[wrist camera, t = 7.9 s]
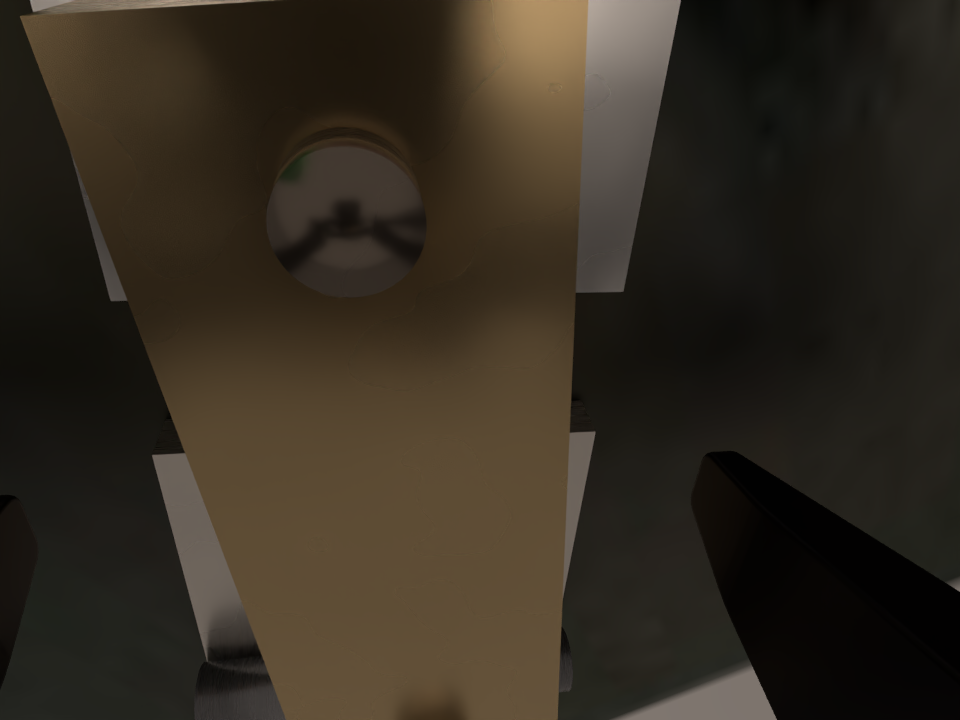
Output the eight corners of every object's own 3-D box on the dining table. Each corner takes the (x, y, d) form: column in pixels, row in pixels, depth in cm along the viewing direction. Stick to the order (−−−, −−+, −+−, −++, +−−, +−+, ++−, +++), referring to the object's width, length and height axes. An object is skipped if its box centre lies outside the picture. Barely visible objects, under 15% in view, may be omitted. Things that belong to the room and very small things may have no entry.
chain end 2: (581, 400, 14) (620, 481, 12) (543, 616, 17) (566, 705, 15) (165, 419, 12) (129, 514, 10) (221, 648, 16) (202, 750, 14)
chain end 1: (696, -252, 8) (804, -306, 6) (604, 266, 12) (653, 334, 10) (-21, -340, 7) (-170, -445, 5) (129, 271, 11) (78, 351, 9)
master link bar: (495, -43, 8) (615, -12, 4) (510, 582, 15) (563, 809, 11) (159, -25, 8) (-23, 27, 4) (329, 612, 14) (320, 856, 11)
